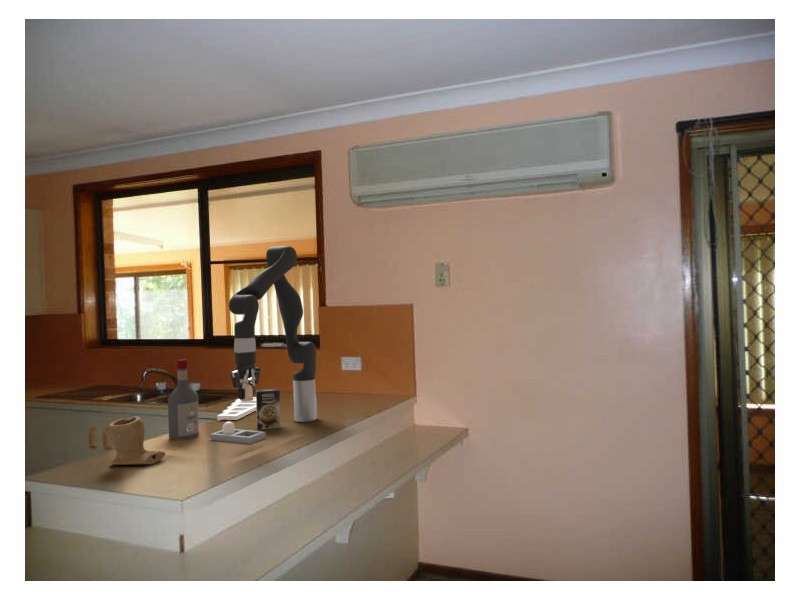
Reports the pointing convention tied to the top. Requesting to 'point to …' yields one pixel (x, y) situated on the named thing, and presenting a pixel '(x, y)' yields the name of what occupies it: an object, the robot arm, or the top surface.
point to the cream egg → (228, 428)
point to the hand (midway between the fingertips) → (246, 397)
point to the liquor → (183, 407)
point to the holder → (238, 410)
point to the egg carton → (239, 436)
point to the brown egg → (248, 393)
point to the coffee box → (268, 408)
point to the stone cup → (131, 443)
